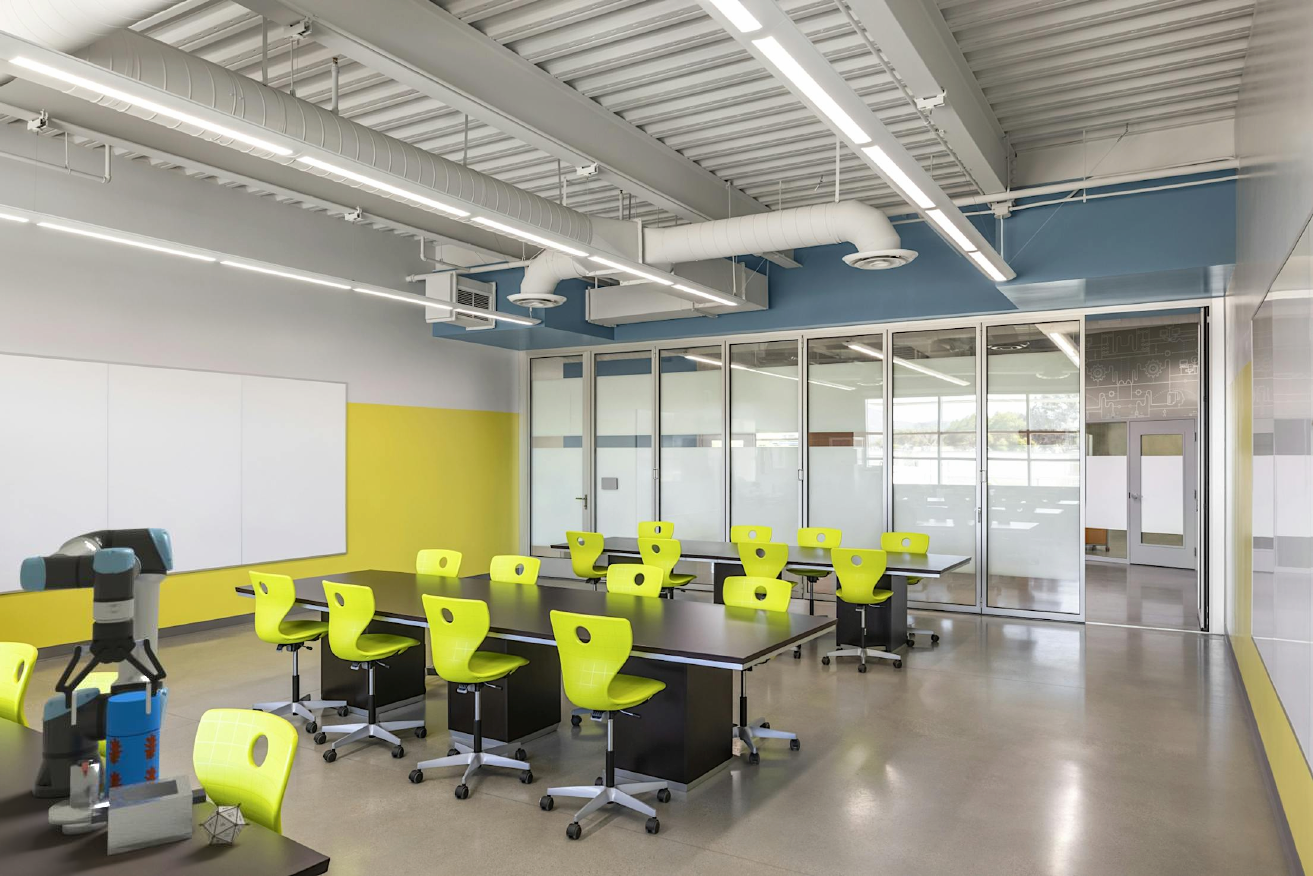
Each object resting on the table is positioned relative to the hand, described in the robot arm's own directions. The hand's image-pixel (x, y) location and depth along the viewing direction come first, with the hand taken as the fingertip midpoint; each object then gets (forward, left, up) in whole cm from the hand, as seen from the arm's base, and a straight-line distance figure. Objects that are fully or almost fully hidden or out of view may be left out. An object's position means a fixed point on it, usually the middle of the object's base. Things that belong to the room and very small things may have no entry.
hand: (111, 717), depth 181 cm
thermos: (-18, +4, -25) cm, 31 cm away
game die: (+20, +20, -25) cm, 38 cm away
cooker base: (+5, +7, -25) cm, 26 cm away
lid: (-8, -5, -25) cm, 26 cm away
